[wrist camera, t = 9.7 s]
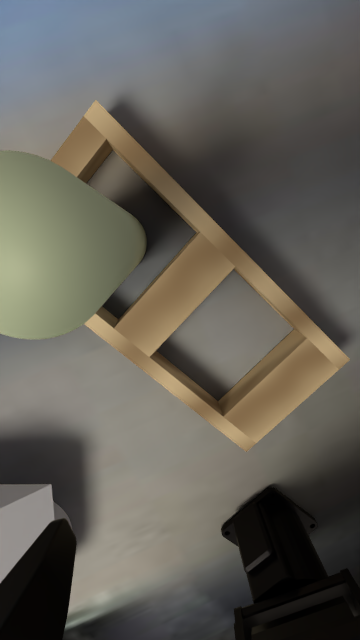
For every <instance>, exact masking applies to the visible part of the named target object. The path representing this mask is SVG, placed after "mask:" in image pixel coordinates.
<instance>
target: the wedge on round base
mask: <svg viewBox="0 0 360 640" xmlns="http://www.w3.org/2000/svg"><path fill="white" fill-rule="evenodd" d="M61 518H65V519H67V520H68V522H69V524H70V526H71V528H72V525H71V522H70V519H69V518H68V516H67V514H66V513H65V512H64V510H63V509H62V508H61V507H60V506H59V505H58V504H56V503H55V502H54V501H53V497H52V486H51V484H0V583H1V582H2V580H3V579H4V578H5V577H6V575H7V574H8V573H9V572H10V571H11V569H12V568H13V567H14V566H15V564H16V563H17V562H18V561H19V560H20V558H21V557H22V556H23V555H24V553H25V552H26V551H27V550H28V549H29V547H30V546H31V545H32V544H33V542H34V541H35V540H36V539H37V538H38V536H39V535H40V534H41V533H42V532H43V530H44V529H45V528H46V527H47V525H48V524H49V523H50V522H51V521H53V520H57V519H61Z"/></svg>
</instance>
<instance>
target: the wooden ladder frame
mask: <svg viewBox="0 0 360 640" xmlns="http://www.w3.org/2000/svg"><path fill="white" fill-rule="evenodd" d="M112 150H114V151H115V152H116V153H117V154H118V155H119V156H120V157H121V158H122V159H123V160H124V161H125V162H126V163H127V164H128V165H129V166H130V167H131V168H132V169H133V170H134V171H135V172H136V173H137V174H138V175H139V176H140V177H141V178H142V179H143V180H144V181H145V182H146V183H147V184H148V185H149V186H150V187H151V188H152V189H153V190H154V191H155V192H156V193H157V194H158V195H159V196H160V197H161V198H162V199H163V200H164V201H165V202H166V203H167V204H168V205H169V206H170V207H171V208H172V209H173V210H174V211H175V212H176V213H177V214H178V215H179V216H180V217H181V218H182V219H183V220H184V221H185V222H187V223H188V224H189V225H190V226H191V227H192V228H193V229H194V230H195V231H196V232H197V233H196V234H195V235H194V236H193V237H192V238H191V239H190V240H189V241H188V243H187V244H186V245H185V246H184V247H183V248H182V249H181V250H180V251H179V253H178V254H177V255H176V256H175V257H174V258H173V259H172V260H171V262H170V263H169V264H168V265H167V266H166V267H165V268H164V269H163V270H162V272H161V273H160V274H159V275H158V276H157V277H156V278H155V279H154V280H153V282H152V283H151V284H150V285H149V286H148V287H147V288H146V289H145V290H144V292H143V293H142V294H141V295H140V296H139V297H138V298H137V299H136V301H135V302H134V303H133V304H132V305H131V306H130V307H129V308H128V309H127V311H126V312H125V313H124V314H123V315H122V316H121V317H120V318H119V319H117V318H116V317H115V316H113V315H112V314H111V313H110V312H108V311H107V310H106V309H105V308H104V307H102V306H101V307H100V308H99V310H98V311H97V312H96V313H95V314H94V315H93V316H92V317H91V318H90V319H89V320H88V321H87V322H85V323H84V324H85V325H86V326H87V327H89V328H90V329H91V330H92V331H94V332H95V333H96V334H98V335H99V336H100V337H101V338H103V339H104V340H105V341H106V342H108V343H109V344H110V345H111V346H113V347H114V348H115V349H117V350H118V351H119V352H120V353H122V354H123V355H124V356H125V357H127V358H128V359H129V360H131V361H132V362H133V363H134V364H136V365H137V366H138V367H139V368H141V369H142V370H143V371H144V372H146V373H147V374H148V375H150V376H151V377H152V378H153V379H155V380H156V381H157V382H158V383H160V384H161V385H162V386H164V387H165V388H166V389H167V390H169V391H170V392H171V393H172V394H174V395H175V396H176V397H177V398H179V399H180V400H181V401H183V402H184V403H185V404H186V405H188V406H189V407H190V408H191V409H193V410H194V411H195V412H197V413H198V414H199V415H200V416H202V417H203V418H204V419H205V420H207V421H208V422H209V423H210V424H212V425H213V426H214V427H216V428H217V429H218V430H219V431H221V432H222V433H223V434H224V435H226V436H227V437H228V438H230V439H231V440H232V441H233V442H235V443H236V444H237V445H238V446H240V447H241V448H242V449H244V450H245V451H246V452H247V451H248V450H249V449H250V448H251V447H252V446H254V445H255V444H256V443H257V442H258V441H259V440H260V439H261V438H263V437H264V436H265V435H266V434H267V433H268V432H269V431H270V430H272V429H273V428H274V427H275V426H276V425H277V424H278V423H279V422H280V421H282V420H283V419H284V418H285V417H286V416H287V415H288V414H289V413H291V412H292V411H293V410H294V409H295V408H296V407H297V406H298V405H300V404H301V403H302V402H303V401H304V400H305V399H306V398H307V397H309V396H310V395H311V394H312V393H313V392H314V391H315V390H316V389H318V388H319V387H320V386H321V385H322V384H323V383H324V382H325V381H327V380H328V379H329V378H330V377H331V376H332V375H333V374H334V373H336V372H337V371H338V370H339V369H340V368H341V367H342V366H343V365H345V364H346V363H347V362H348V361H349V360H350V359H349V358H348V357H347V356H346V355H345V354H344V353H343V352H342V351H341V350H340V349H339V348H338V347H337V346H336V345H335V344H334V343H333V342H332V341H331V340H330V339H329V338H328V337H327V336H326V335H325V334H324V333H323V331H322V330H321V329H320V328H319V327H318V326H317V325H316V324H315V323H314V322H313V321H312V320H311V319H310V318H309V317H308V316H307V315H306V314H305V313H304V312H303V311H302V310H301V309H300V308H299V307H298V306H297V305H296V304H295V303H294V302H293V301H292V300H291V299H290V298H289V297H288V296H287V295H286V294H285V293H284V292H283V291H282V290H281V289H280V288H279V287H278V286H277V285H276V283H275V282H274V281H273V280H272V279H271V278H270V277H269V276H268V275H267V274H266V273H265V272H264V271H263V270H262V269H261V268H260V267H259V266H258V265H257V264H256V263H255V262H254V261H253V260H252V259H251V258H250V257H249V256H248V255H247V254H246V253H245V252H244V251H243V250H242V249H241V248H240V247H239V246H238V245H237V244H236V243H235V242H234V241H233V240H232V239H231V238H230V237H229V235H228V234H227V233H226V232H225V231H224V230H223V229H222V228H221V227H220V226H219V225H218V224H217V223H216V222H215V221H214V220H213V219H212V218H211V217H210V216H209V215H208V214H207V213H206V212H205V211H204V210H203V209H202V208H201V207H200V206H199V205H198V204H197V203H196V202H195V201H194V200H193V199H192V198H191V197H190V196H189V195H188V194H187V193H186V192H185V191H184V190H183V189H182V187H181V186H180V185H179V184H178V183H177V182H176V181H175V180H174V179H173V178H172V177H171V176H170V175H169V174H168V173H167V172H166V171H165V170H164V169H163V168H162V167H161V166H160V165H159V164H158V163H157V162H156V161H155V160H154V159H153V158H152V157H151V156H150V155H149V154H148V153H147V152H146V151H145V150H144V149H143V148H142V147H141V146H140V145H139V144H138V143H137V142H136V141H135V139H134V138H133V137H132V136H131V135H130V134H129V133H128V132H127V131H126V130H125V129H124V128H123V127H122V126H121V125H120V124H119V123H118V122H117V121H116V120H115V119H114V118H113V117H112V116H111V115H110V114H109V113H108V112H107V111H106V110H105V109H104V108H103V107H102V106H101V105H100V104H99V103H98V102H97V101H96V100H95V102H94V103H93V104H92V106H91V107H90V108H89V110H88V111H87V112H86V114H85V115H84V116H83V118H82V119H81V120H80V122H79V123H78V124H77V126H76V127H75V129H74V130H73V131H72V133H71V134H70V135H69V137H68V138H67V139H66V141H65V142H64V143H63V145H62V146H61V147H60V149H59V150H58V151H57V153H56V154H55V155H54V157H53V158H52V159H51V161H52V162H53V163H55V164H57V165H59V166H61V167H63V168H64V169H65V170H67V171H68V172H70V173H71V174H73V175H74V176H76V177H77V178H79V179H80V180H82V181H83V182H85V183H87V182H88V181H89V179H90V178H91V177H92V175H93V174H94V173H95V172H96V170H97V169H98V168H99V167H100V165H101V164H102V163H103V161H104V160H105V159H106V158H107V156H108V155H109V154H110V152H111V151H112ZM233 269H234V270H235V271H236V272H237V273H238V274H239V275H240V276H241V277H242V278H243V279H244V280H245V281H246V282H247V283H248V284H249V285H250V286H251V287H252V288H253V289H254V290H255V291H256V292H257V293H258V294H259V295H260V296H261V297H262V298H263V299H264V300H265V301H266V302H267V303H268V304H269V305H270V306H272V307H273V308H274V309H275V310H276V311H277V312H278V313H279V314H280V315H281V316H282V317H283V318H284V319H285V320H286V321H287V322H288V323H289V324H290V325H291V326H292V327H293V328H294V330H293V331H291V332H290V333H289V334H288V335H287V336H286V337H285V338H284V339H283V340H282V341H281V342H280V343H279V344H278V345H277V346H276V347H275V348H274V349H273V350H272V351H270V352H269V353H268V354H267V355H266V356H265V357H264V358H263V359H262V360H261V361H260V362H259V363H258V364H257V365H256V366H255V367H254V368H253V369H252V370H251V371H250V372H248V373H247V374H246V375H245V376H244V377H243V378H242V379H241V380H240V381H239V382H238V383H237V384H236V385H235V386H234V387H233V388H232V389H231V390H230V391H229V392H227V393H226V394H225V395H224V396H223V397H222V398H221V399H220V400H219V401H217V400H216V399H215V398H213V397H212V396H211V395H210V394H208V393H207V392H206V391H205V390H204V389H202V388H201V387H200V386H199V385H197V384H196V383H195V382H194V381H193V380H191V379H190V378H189V377H188V376H187V375H185V374H184V373H183V372H182V371H180V370H179V369H178V368H177V367H176V366H174V365H173V364H172V363H171V362H169V361H168V360H167V359H166V358H165V357H163V356H162V355H161V354H160V353H158V352H157V351H156V350H157V349H158V348H159V346H160V345H161V344H162V343H163V342H164V341H165V340H166V339H167V338H168V337H169V336H170V335H171V334H172V333H173V332H174V331H175V330H176V329H177V328H178V326H179V325H180V324H181V323H182V322H183V321H184V320H185V319H186V318H187V317H188V316H189V315H190V314H191V313H192V312H193V311H194V310H195V309H196V308H197V307H198V305H199V304H200V303H201V302H202V301H203V300H204V299H205V298H206V297H207V296H208V295H209V294H210V293H211V292H212V291H213V290H214V289H215V288H216V287H217V286H218V284H219V283H220V282H221V281H222V280H223V279H224V278H225V277H226V276H227V275H228V274H229V273H230V272H231V271H232V270H233Z"/></svg>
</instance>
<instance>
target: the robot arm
mask: <svg viewBox="0 0 360 640" xmlns="http://www.w3.org/2000/svg"><path fill="white" fill-rule="evenodd" d="M317 527H318V524H317V522H316V520H315V519H314V518H313V517H312V516H310V515H309V514H308V513H307V512H305V511H304V510H303V509H301V508H300V507H299V506H298V505H296V504H295V503H294V502H292V501H291V500H290V499H288V498H287V497H286V496H285V495H283V494H282V493H281V492H279V491H278V490H277V489H275V488H274V487H270V488H267V489H266V490H265V491H264V492H263V493H261V494H260V495H259V496H258V497H257V498H256V499H254V500H253V501H252V502H251V503H250V504H248V505H247V506H246V507H245V508H244V509H243V510H241V511H240V512H239V513H238V514H237V515H235V516H234V517H233V518H232V519H231V520H230V521H228V522H227V523H226V524H225V525H224V526H222V528H221V532H222V536H223V537H225V538H226V539H228V540H229V541H231V542H232V543H234V544H235V545H237V546H238V547H239V550H240V555H241V559H242V563H243V567H244V570H245V572H246V574H247V578H248V582H249V586H250V590H251V594H252V598H253V602H254V604H251V605H248V606H245V607H241V606H240V607H237V608H235V609H234V615H235V623H234V630H235V639H236V640H360V588H359V587H358V585H357V583H356V582H355V580H354V579H353V577H352V575H351V574H350V572H349V570H348V569H347V568H346V569H343V570H340V573H337V574H335V575H332V576H329V577H328V575H327V573H326V571H325V569H324V567H323V564H322V562H321V560H320V558H319V556H318V554H317V552H316V550H315V548H314V546H313V544H312V542H311V540H310V538H309V536H308V534H310V533H311V532H312V531H314V530H315V529H316V528H317ZM75 553H76V537H75V535H74V533H73V530H72V528H71V526H70V524H69V522H68V520H67V519H65V518H61V519H57V520H53V521H51V522H50V523H49V524H48V525H47V527H46V528H45V529H44V530H43V532H42V533H41V534H40V535H39V536H38V538H37V539H36V540H35V541H34V542H33V544H32V545H31V546H30V547H29V549H28V550H27V551H26V552H25V553H24V555H23V556H22V557H21V558H20V560H19V561H18V562H17V563H16V564H15V566H14V567H13V568H12V569H11V571H10V572H9V573H8V574H7V575H6V577H5V578H4V579H3V580H2V582H1V583H0V640H62V638H63V633H64V629H65V624H66V619H67V613H68V607H69V600H70V593H71V585H72V577H73V569H74V561H75Z"/></svg>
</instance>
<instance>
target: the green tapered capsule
mask: <svg viewBox="0 0 360 640" xmlns="http://www.w3.org/2000/svg"><path fill="white" fill-rule="evenodd" d="M146 247H147V238H146V234H145V231H144V228H143V226H142V225H141V223H140V222H139V221H138V220H137V219H136V218H135V217H134V216H133V215H131V214H130V213H129V212H127V211H126V210H124V209H123V208H121V207H120V206H118V205H117V204H115V203H114V202H112V201H111V200H109V199H108V198H107V197H105V196H104V195H102V194H101V193H99V192H98V191H96V190H95V189H93V188H92V187H90V186H89V185H87V184H86V183H85V182H83V181H82V180H80V179H79V178H77V177H76V176H74V175H73V174H71V173H70V172H68V171H67V170H65V169H64V168H63V167H61V166H59V165H57V164H55V163H53V162H52V161H50V160H47V159H45V158H42V157H40V156H37V155H33V154H29V153H25V152H19V151H0V334H3V335H7V336H10V337H15V338H21V339H47V338H52V337H57V336H60V335H63V334H66V333H68V332H70V331H72V330H75V329H77V328H78V327H80V326H81V325H83V324H84V323H85V322H87V321H88V320H89V319H90V318H91V317H92V316H93V315H94V314H95V313H96V312H97V311H98V310H99V308H100V307H101V306H102V305H103V304H104V303H105V302H106V300H107V299H108V298H109V297H110V296H111V295H112V294H113V292H114V291H115V290H116V289H117V288H118V287H119V286H120V285H121V283H122V282H123V281H124V280H125V279H126V278H127V277H128V275H129V274H130V273H131V272H132V271H133V270H134V269H135V267H136V266H137V265H138V264H139V263H140V262H141V260H142V259H143V257H144V255H145V252H146Z"/></svg>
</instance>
